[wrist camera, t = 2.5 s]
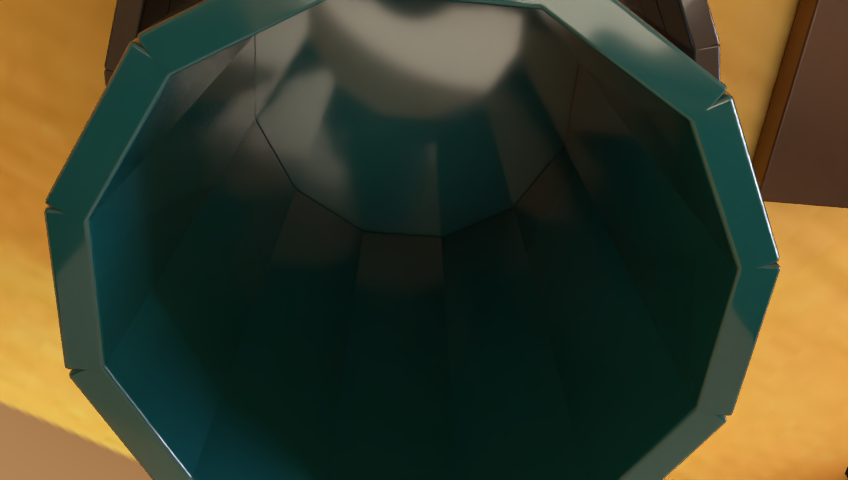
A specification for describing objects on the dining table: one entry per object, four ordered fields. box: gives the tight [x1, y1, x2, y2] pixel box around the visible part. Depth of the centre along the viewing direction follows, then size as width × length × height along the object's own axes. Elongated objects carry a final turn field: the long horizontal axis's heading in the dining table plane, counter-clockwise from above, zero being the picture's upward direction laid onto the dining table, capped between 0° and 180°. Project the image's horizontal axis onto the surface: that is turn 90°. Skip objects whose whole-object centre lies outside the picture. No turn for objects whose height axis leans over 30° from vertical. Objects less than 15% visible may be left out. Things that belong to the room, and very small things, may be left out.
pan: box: [104, 0, 720, 86], centre depth 21 cm, size 14×14×5 cm
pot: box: [45, 0, 780, 480], centre depth 17 cm, size 13×10×12 cm
